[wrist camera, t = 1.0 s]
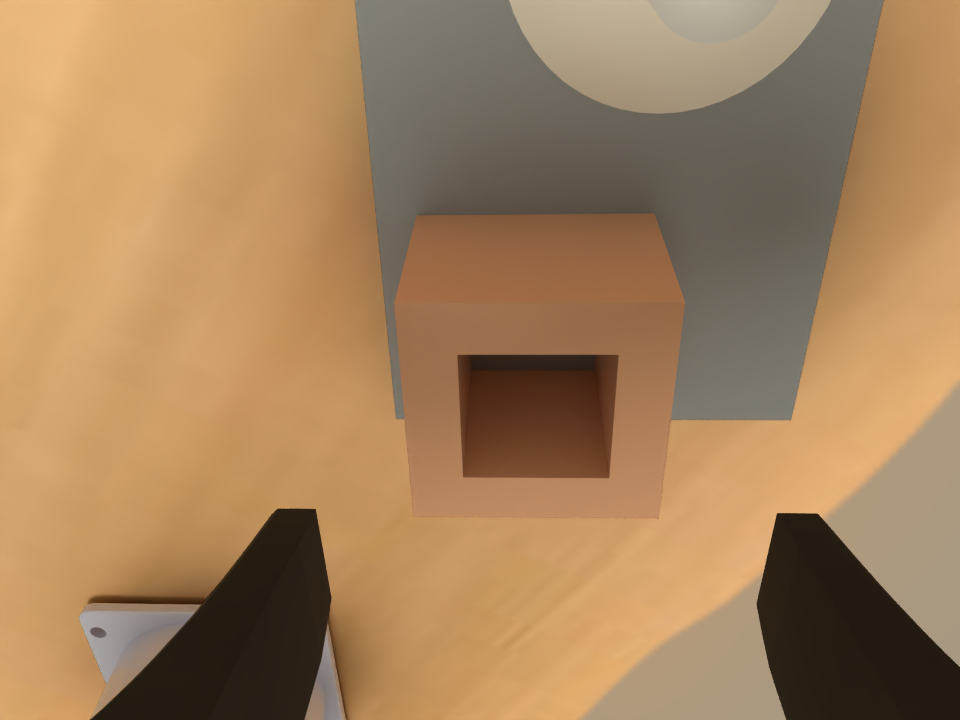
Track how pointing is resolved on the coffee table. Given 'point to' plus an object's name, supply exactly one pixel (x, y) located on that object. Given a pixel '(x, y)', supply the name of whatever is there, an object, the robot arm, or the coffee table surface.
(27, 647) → the coffee table surface
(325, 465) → the coffee table surface
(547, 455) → the tan square tube block
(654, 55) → the post board
